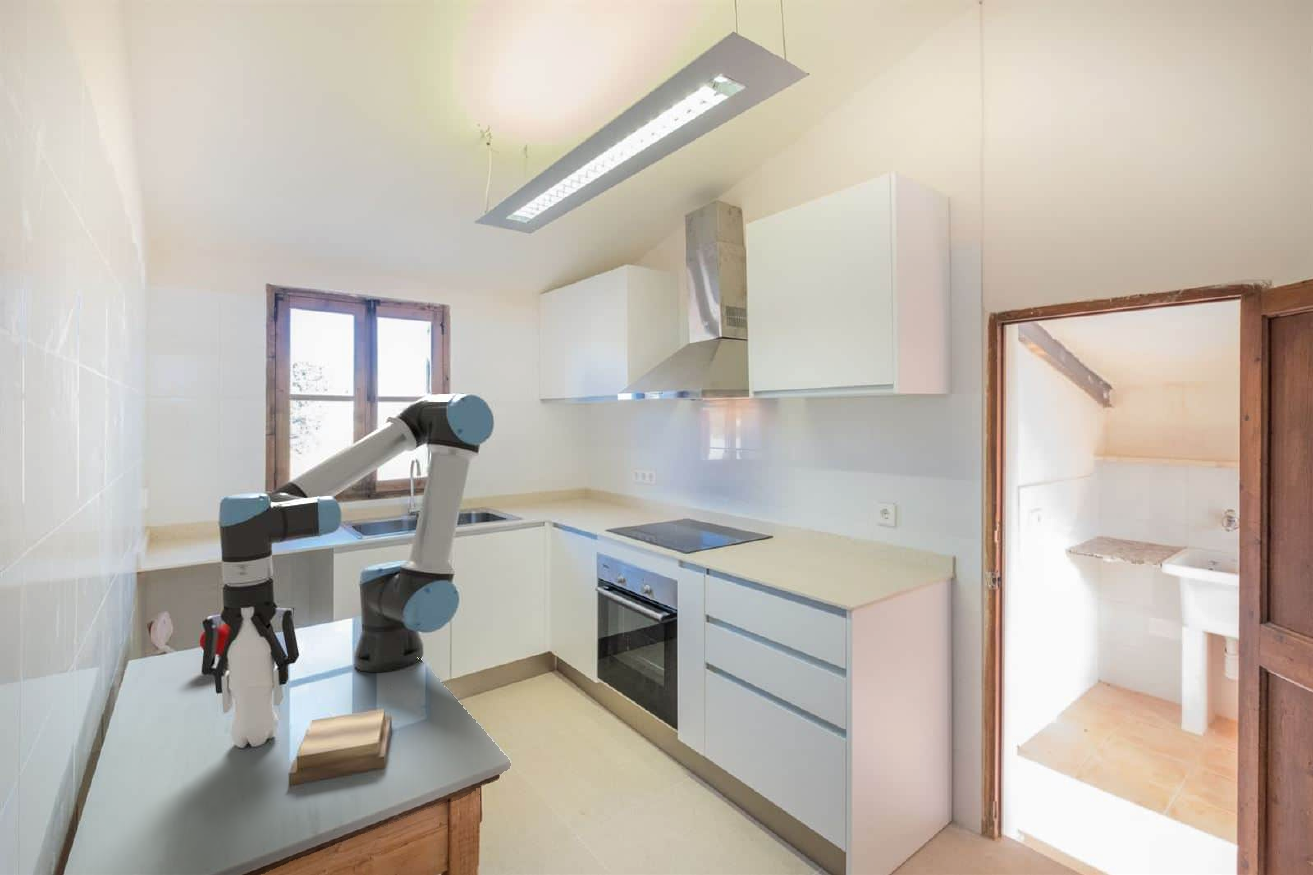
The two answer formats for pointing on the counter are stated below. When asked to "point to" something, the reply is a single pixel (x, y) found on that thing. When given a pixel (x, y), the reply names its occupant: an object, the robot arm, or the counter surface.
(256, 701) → the water bottle
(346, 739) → the oak slab
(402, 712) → the counter surface
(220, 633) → the red heart on stem
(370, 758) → the walnut slab
